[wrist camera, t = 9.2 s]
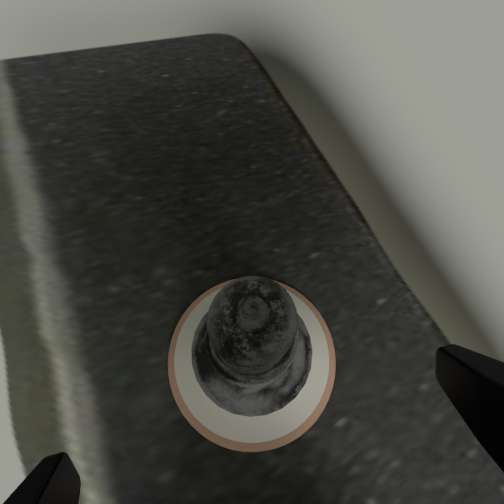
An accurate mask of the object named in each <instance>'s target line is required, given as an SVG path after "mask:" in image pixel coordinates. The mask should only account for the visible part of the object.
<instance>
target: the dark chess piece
mask: <svg viewBox="0 0 504 504" xmlns="http://www.w3.org/2000/svg"><path fill="white" fill-rule="evenodd" d="M312 352H313V351H312V345H311V340H310V335H309V333H308V330H307V328H306V326H305V324H304V321H303V320H302V319H301V317H300V316H299V315H298V314H297V310H296V307H295V305H294V302H293V300H292V298H291V296H290V295H289V293H288V292H287V291H286V290H285V288H284V287H282V286H281V285H280V284H278V283H277V282H276V281H273V280H271V279H268V278H266V277H261V276H246V277H241V278H238V279H236V280H233V281H231V282H230V283H228V284H227V285H225V286H224V287H223V288H222V289H221V290H220V291H219V292H218V293H217V294H216V296H215V297H214V299H213V301H212V303H211V305H210V307H209V311H208V312H207V313H206V314H205V315H204V316H203V318H202V319H201V321H200V323H199V325H198V327H197V329H196V331H195V334H194V338H193V343H192V347H191V353H192V367H193V370H194V373H195V377H196V380H197V382H198V383H199V385H200V387H201V388H202V390H203V392H204V393H205V395H206V396H207V397H208V398H209V399H211V400H212V401H213V402H214V403H215V404H216V405H217V406H218V407H220V408H222V409H224V410H226V411H228V412H230V413H232V414H236V415H242V416H248V417H254V416H262V415H268V414H270V413H273V412H275V411H277V410H280V409H282V408H284V407H285V406H286V405H287V404H288V403H290V402H291V401H292V400H293V399H295V398H296V396H297V395H298V394H299V392H300V391H301V389H302V388H303V386H304V385H305V384H306V381H307V378H308V375H309V372H310V370H311V363H312Z"/></svg>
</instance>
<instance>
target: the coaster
mask: <svg viewBox="0 0 504 504" xmlns="http://www.w3.org/2000/svg"><path fill="white" fill-rule="evenodd" d="M233 280H236V279H233ZM233 280H229V281H226V282H223V283H221V284H218V285H216V286H214V287H212V288H211V289H209V290H208V291H206V292H205V293H203V294H202V295H201V296H199V297H198V298H197V299H196V300H195V301H194V302H193V303H192V304H191V305H190V306H189V307H188V308H187V310H186V311H185V313H184V314H183V316H182V317H181V319H180V320H179V322H178V324H177V326H176V328H175V331H174V334H173V336H172V339H171V343H170V348H169V355H168V375H169V382H170V386H171V390H172V393H173V396H174V399H175V401H176V403H177V406H178V407H179V409H180V411H181V412H182V414H183V416H184V417H185V418H186V420H187V421H188V422H189V423H190V425H191V426H192V427H193V428H194V429H196V430H197V431H198V432H199V433H200V434H201V435H203V436H204V437H205V438H207V439H208V440H210V441H211V442H213V443H215V444H217V445H219V446H222V447H225V448H228V449H231V450H235V451H241V452H262V451H269V450H272V449H276V448H279V447H282V446H284V445H286V444H288V443H290V442H292V441H294V440H295V439H297V438H298V437H300V436H301V435H302V434H304V433H305V432H306V431H307V430H308V429H309V428H310V427H311V426H312V425H313V424H314V423H315V422H316V420H317V419H318V418H319V416H320V415H321V413H322V412H323V410H324V409H325V406H326V404H327V402H328V400H329V398H330V395H331V392H332V388H333V384H334V379H335V368H336V361H335V350H334V345H333V341H332V338H331V335H330V332H329V329H328V327H327V325H326V323H325V321H324V319H323V318H322V316H321V315H320V313H319V312H318V310H317V309H316V308H315V307H314V306H313V304H312V303H311V302H310V301H309V300H308V299H306V298H305V297H304V296H303V295H302V294H300V293H299V292H298V291H296V290H295V289H293V288H291V287H289V286H287V285H285V284H283V283H280V282H278V281H276V282H277V283H278V284H280V285H281V286H282V287H284V288H285V290H286V291H287V292H288V293H289V295H290V296H291V298H292V300H293V302H294V305H295V307H296V310H297V314H298V315H299V316H300V317H301V319H302V320H303V321H304V324H305V326H306V328H307V330H308V333H309V335H310V340H311V345H312V351H313V352H312V363H311V370H310V372H309V375H308V378H307V381H306V384H305V385H304V386H303V388H302V389H301V391H300V392H299V394H298V395H297V396H296V398H295V399H293V400H292V401H291V402H290V403H288V404H287V405H286V406H285V407H284V408H282V409H280V410H277V411H275V412H273V413H270V414H268V415H262V416H254V417H248V416H242V415H236V414H232V413H230V412H228V411H226V410H224V409H222V408H220V407H218V406H217V405H216V404H215V403H214V402H213V401H212V400H211V399H209V398H208V397H207V396H206V395H205V393H204V392H203V390H202V388H201V387H200V385H199V383H198V382H197V380H196V377H195V373H194V370H193V367H192V353H191V347H192V343H193V338H194V334H195V331H196V329H197V327H198V325H199V323H200V321H201V319H202V318H203V316H204V315H205V314H206V313H207V312H208V311H209V307H210V305H211V303H212V301H213V299H214V297H215V296H216V294H217V293H218V292H219V291H220V290H221V289H222V288H223V287H224V286H225V285H227V284H228V283H230V282H231V281H233ZM273 281H274V280H273Z"/></svg>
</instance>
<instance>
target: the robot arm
mask: <svg viewBox="0 0 504 504" xmlns="http://www.w3.org/2000/svg"><path fill="white" fill-rule="evenodd" d="M435 375H436V378H437V381H438V383H439V384H440V386H441V387H442V389H443V390H444V392H445V393H446V395H447V396H448V398H449V399H450V401H451V402H452V404H453V405H454V407H455V408H456V409H457V411H458V412H459V414H460V415H461V417H462V418H463V420H464V421H465V423H466V424H467V426H468V427H469V429H470V430H471V431H472V433H473V434H474V436H475V437H476V438H477V440H478V441H479V442H480V444H481V445H482V446H483V447H484V449H485V450H486V451H487V453H488V454H489V455H490V456H491V457H492V459H493V460H494V461H495V462H496V463H497V465H498V466H499V467H500V468H501V470H502V471H503V472H504V362H501V361H499V360H496V359H493V358H491V357H488V356H485V355H482V354H480V353H477V352H474V351H472V350H469V349H466V348H464V347H461V346H458V345H455V344H450V345H447V346H443V347H440V348H438V349H437V351H436V366H435ZM80 486H81V482H80V477H79V474H78V472H77V470H76V468H75V467H74V465H73V463H72V461H71V459H70V457H69V456H68V454H67V453H65V452H61V453H57V454H53V455H50V456H47V457H45V458H44V459H43V460H42V461H41V462H40V463H39V464H38V465H37V466H36V467H35V468H34V469H33V471H32V472H31V473H30V474H29V475H28V476H27V477H26V478H25V480H24V481H23V482H22V483H21V484H20V485H19V486H18V487H17V489H16V490H15V491H14V492H13V493H12V494H11V495H10V497H9V498H8V499H7V500H6V501H5V502H4V503H3V504H78V502H79V495H80Z"/></svg>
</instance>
